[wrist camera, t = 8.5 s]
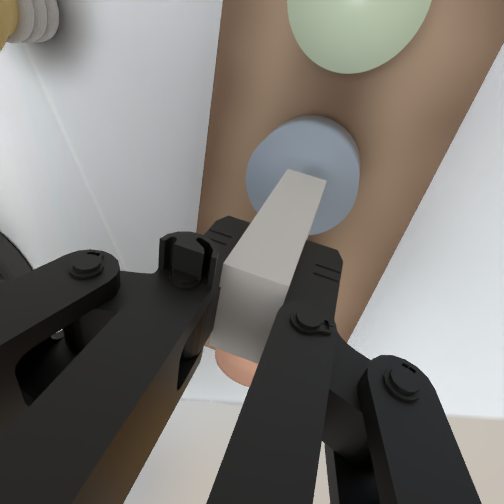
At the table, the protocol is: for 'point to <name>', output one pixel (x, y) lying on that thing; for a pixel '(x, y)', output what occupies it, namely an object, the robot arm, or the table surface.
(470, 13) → the button board
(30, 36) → the light bulb
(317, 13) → the sage button
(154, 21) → the table surface
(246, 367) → the terracotta button
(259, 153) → the slate button
